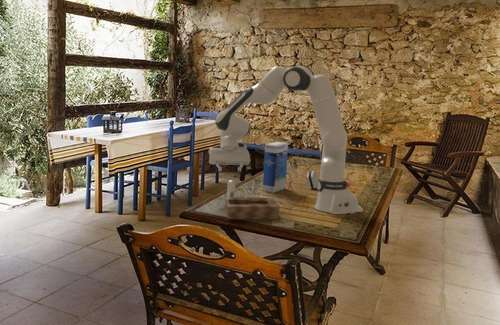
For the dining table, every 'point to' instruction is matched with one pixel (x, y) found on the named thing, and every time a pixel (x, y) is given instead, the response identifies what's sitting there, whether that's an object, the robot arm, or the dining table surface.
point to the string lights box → (275, 166)
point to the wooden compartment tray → (251, 208)
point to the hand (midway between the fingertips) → (229, 170)
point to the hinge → (312, 179)
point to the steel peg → (231, 189)
